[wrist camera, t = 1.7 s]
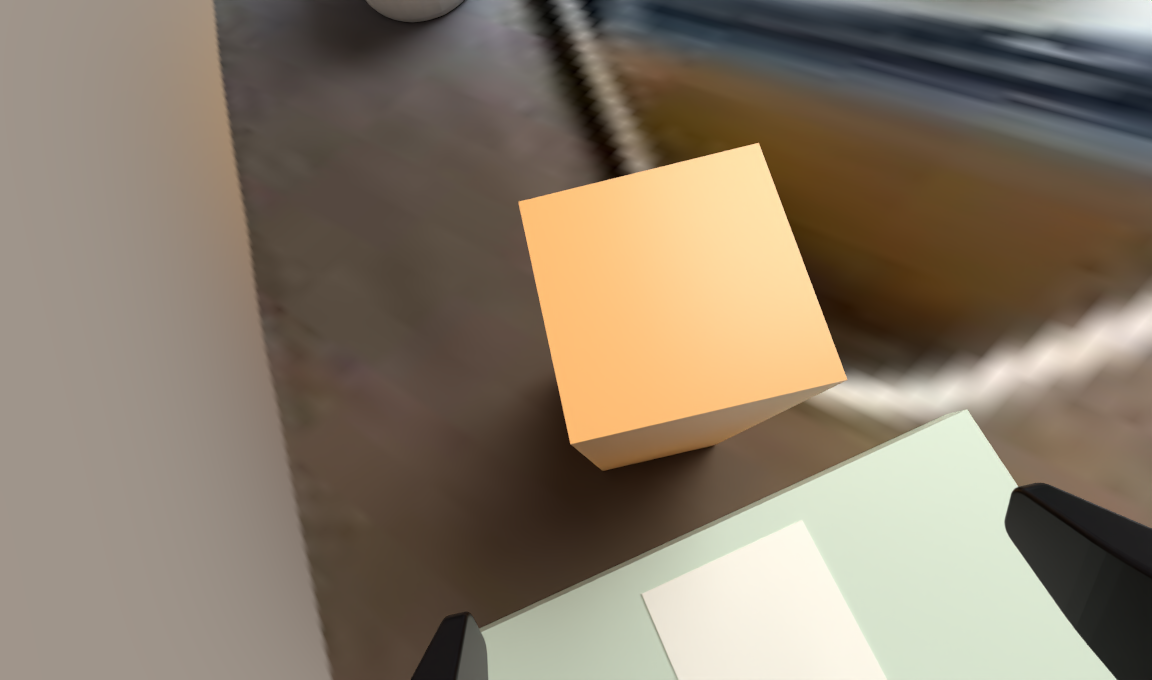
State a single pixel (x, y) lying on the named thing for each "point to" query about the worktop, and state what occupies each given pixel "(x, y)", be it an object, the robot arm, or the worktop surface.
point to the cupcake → (413, 8)
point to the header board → (821, 586)
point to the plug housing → (676, 307)
